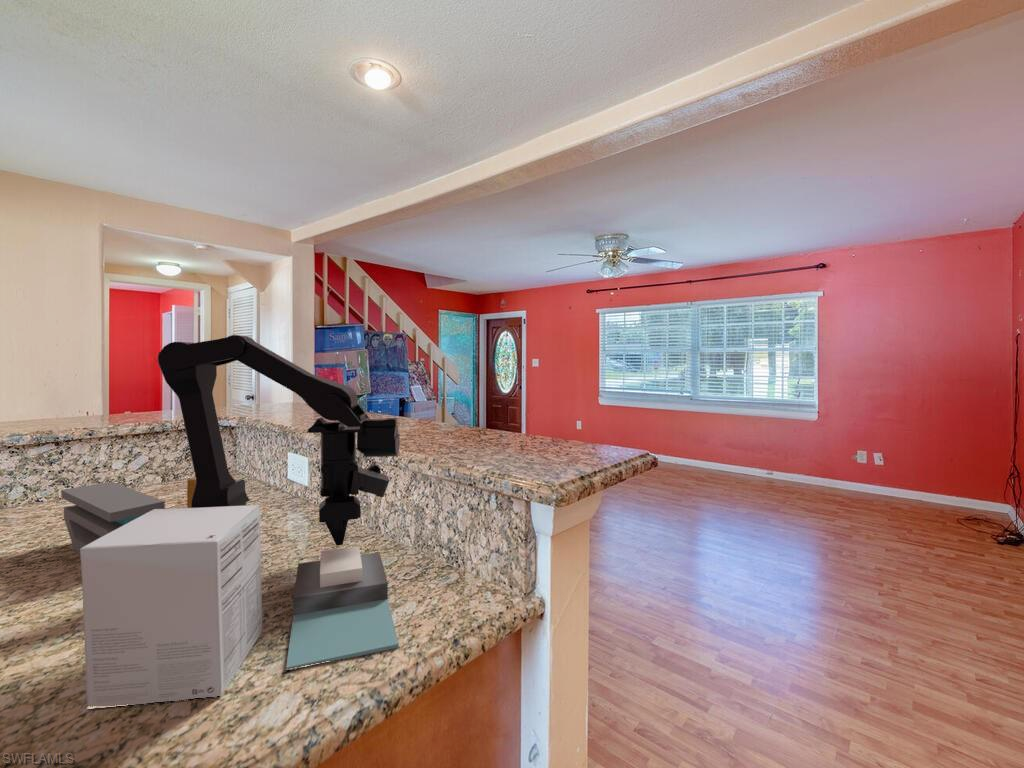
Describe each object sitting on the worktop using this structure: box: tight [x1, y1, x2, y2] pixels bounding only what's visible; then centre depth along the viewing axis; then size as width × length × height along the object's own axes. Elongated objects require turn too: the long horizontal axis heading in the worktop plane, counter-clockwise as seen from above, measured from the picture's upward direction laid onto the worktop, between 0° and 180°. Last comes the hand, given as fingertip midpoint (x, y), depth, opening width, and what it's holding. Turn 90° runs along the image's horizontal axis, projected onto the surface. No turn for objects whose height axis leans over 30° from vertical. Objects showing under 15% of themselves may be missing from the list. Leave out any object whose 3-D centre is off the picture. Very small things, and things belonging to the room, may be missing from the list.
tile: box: [319, 545, 363, 587], centre depth 74 cm, size 6×9×2 cm, turn 21°
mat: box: [285, 598, 400, 670], centre depth 63 cm, size 13×12×1 cm
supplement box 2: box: [186, 477, 196, 508], centre depth 105 cm, size 3×3×10 cm
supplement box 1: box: [79, 504, 263, 707], centre depth 56 cm, size 13×13×18 cm
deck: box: [292, 551, 389, 615], centre depth 74 cm, size 13×12×3 cm
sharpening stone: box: [60, 480, 166, 556], centre depth 88 cm, size 25×8×11 cm, turn 58°
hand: (339, 544), depth 83 cm, fingers closed
